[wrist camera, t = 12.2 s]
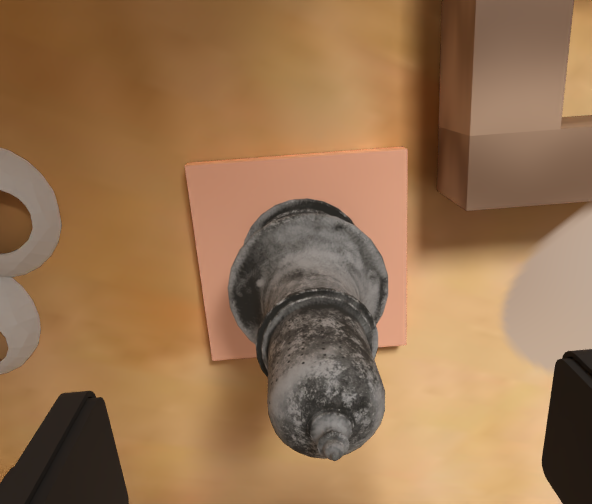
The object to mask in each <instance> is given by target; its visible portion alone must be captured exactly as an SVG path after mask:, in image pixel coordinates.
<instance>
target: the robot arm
mask: <svg viewBox="0 0 592 504" xmlns="http://www.w3.org/2000/svg"><path fill="white" fill-rule="evenodd" d="M542 467H543V471H544V474H545V477H546V478H547V480H548V482H549V483H550V485H551V486H552V488H553V489H554V491H555V492H556V494H557V495H558V497H559V498H560V500H561V502H562V503H563V504H592V349H589V350H577V351H568V352H565V354H564V355H563V358H562V359H559V360H557V362H556V364H555V370H554V377H553V384H552V391H551V398H550V405H549V412H548V419H547V427H546V434H545V441H544V448H543V455H542ZM0 504H129V501H128V494H127V490H126V486H125V482H124V478H123V474H122V469H121V465H120V461H119V457H118V453H117V449H116V445H115V441H114V437H113V433H112V429H111V425H110V421H109V417H108V413H107V409H106V405H105V402H104V400H103V398H101V397H98V398H96V396H95V394H94V393H93V392H92V391H83V392H71V393H63V394H61V395H60V396H59V397H58V399H57V400H56V402H55V403H54V405H53V407H52V408H51V410H50V411H49V413H48V414H47V416H46V418H45V419H44V421H43V422H42V424H41V425H40V427H39V429H38V430H37V432H36V433H35V435H34V436H33V438H32V440H31V441H30V443H29V444H28V446H27V447H26V449H25V451H24V452H23V454H22V455H21V457H20V458H19V460H18V462H17V463H16V465H15V466H14V467H13V468H11V469H10V471H9V472H8V473H7V474H6V475H5V477H4V479H3V480H2V482H1V483H0Z"/></svg>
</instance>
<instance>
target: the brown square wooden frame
mask: <svg viewBox="0 0 592 504" xmlns="http://www.w3.org/2000/svg"><path fill="white" fill-rule="evenodd" d="M573 5H574V0H442V14H441V53H440V92H439V131H438V170H437V191H438V192H440V193H441V194H443V195H444V196H446V197H447V198H448V199H450V200H451V201H453V202H454V203H456V204H457V205H459V206H460V207H461V208H463V209H464V210H466V211H472V210H485V209H498V208H510V207H523V206H536V205H549V204H562V203H575V202H588V201H592V115H589V116H575V117H562V110H563V100H564V91H565V81H566V72H567V62H568V53H569V43H570V33H571V24H572V14H573Z"/></svg>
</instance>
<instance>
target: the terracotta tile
mask: <svg viewBox="0 0 592 504" xmlns="http://www.w3.org/2000/svg"><path fill="white" fill-rule="evenodd" d="M407 151H408V149H406V148H405V147H403V146H402V147H389V148H376V149H362V150H349V151H336V152H323V153H309V154H296V155H283V156H270V157H256V158H243V159H230V160H217V161H203V162H190V163H187V164H186V165H185V172H186V179H187V186H188V193H189V200H190V207H191V214H192V221H193V228H194V235H195V242H196V249H197V256H198V263H199V270H200V277H201V284H202V291H203V298H204V306H205V313H206V320H207V327H208V334H209V341H210V348H211V355H212V361H217V360H229V359H242V358H254V357H257V355H256V345H255V344H254V343H253V342H251V341H250V340H249V339H248V338H247V336H246V335H245V334H244V333H243V331H242V330H241V329H240V328H239V326H238V325H237V323H236V321H235V318H234V316H233V314H232V311H231V309H230V305H229V297H228V289H227V288H228V282H229V276H230V270H231V267H232V264H233V262H234V260H235V258H236V256H237V254H238V252H239V250H240V248H241V247H242V246H243V245H244V240H245V238H246V236H247V234H248V232H249V230H250V228H251V226H252V225H253V224H254V222H255V221H256V220H257V219H258V218H259V217H260V216H261V214H263V213H264V212H266V211H267V210H269V209H270V208H272V207H273V206H275V205H277V204H280V203H283V202H286V201H288V200H293V199H306V198H308V199H314V200H319V201H324V202H326V203H328V204H331V205H333V206H335V207H337V208H339V209H340V210H341V211H342V212H343V213H345V214H346V215H347V216H348V217H349V218H350V219H351V220H352V222H353V223H354V225H355V226H356V227H357V228H359V229H360V230H361V231H362V232H363V233H364V234H366V235H367V236H368V237H369V238H370V239H371V240H372V242H373V243H374V245H375V246H376V248H377V249H378V251H379V252H380V254H381V255H382V257H383V260H384V263H385V267H386V270H387V273H388V298H387V301H386V305H385V309H384V312H383V315H382V316H381V318H380V320H379V321H378V323H377V325H376V327H377V330H378V347H387V346H399V345H406V329H407Z"/></svg>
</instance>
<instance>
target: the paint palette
mask: <svg viewBox="0 0 592 504" xmlns="http://www.w3.org/2000/svg"><path fill="white" fill-rule="evenodd" d="M0 190H1V191H4V192H7V193H10V194H12V195H13V196H15V197H17V198H18V199H19V200H20V201H21V202H22V203H23V204H24V205H25V206H26V208H27V209H28V211H29V213H30V214H31V220H32V226H33V229H32V232H31V234H30V237H29V240H28V241H27V242H26V243H25V244H23V245H22V246H21V247H20V248H19V249H17V250H15V251H13V252H10V253H3V254H0V332H1V333H2V334H3V335H4V337H5V338H6V341H7V344H8V352H7V355H6V357H5V358H4V359H3V360H2V361H0V374H4V373H8V372H10V371H12V370H14V369H16V368H18V367H20V366H22V365H23V364H24V363H25V361H26V360H27V359H28V358H29V357H30V356H31V354H32V353H33V352H34V350H35V349H36V347H37V345H38V343H39V337H40V331H41V328H40V318H39V314H38V311H37V309H36V307H35V304H34V302H33V300H32V299H31V297H30V296H29V295H28V293H27V292H26V291H25V289H24V288H23V286H21V285H20V284H19V283H18V282H17V281H15V280H14V279H13V278H12V277H15V276H20V275H25V274H27V273H29V272H31V271H33V270H35V269H37V268H39V267H40V266H41V265H42V264H43V263H44V262H45V261H46V260H47V259H48V258H49V257H50V256H51V255H52V253H53V251H54V249H55V248H56V246H57V244H58V242H59V237H60V232H61V227H62V224H61V217H60V212H59V207H58V204H57V200H56V196H55V194H54V191H53V190H52V188H51V187H50V185H49V184H48V182H47V181H46V179H45V178H44V177H43V175H42V174H41V173H40V172H39V171H38V170H37V169H36V168H35V167H34V166H33V165H31V164H30V163H29V162H28V161H27V160H25V159H23V158H22V157H20V156H18V155H16V154H15V153H13V152H11V151H10V150H6V149H3V148H0Z"/></svg>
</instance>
